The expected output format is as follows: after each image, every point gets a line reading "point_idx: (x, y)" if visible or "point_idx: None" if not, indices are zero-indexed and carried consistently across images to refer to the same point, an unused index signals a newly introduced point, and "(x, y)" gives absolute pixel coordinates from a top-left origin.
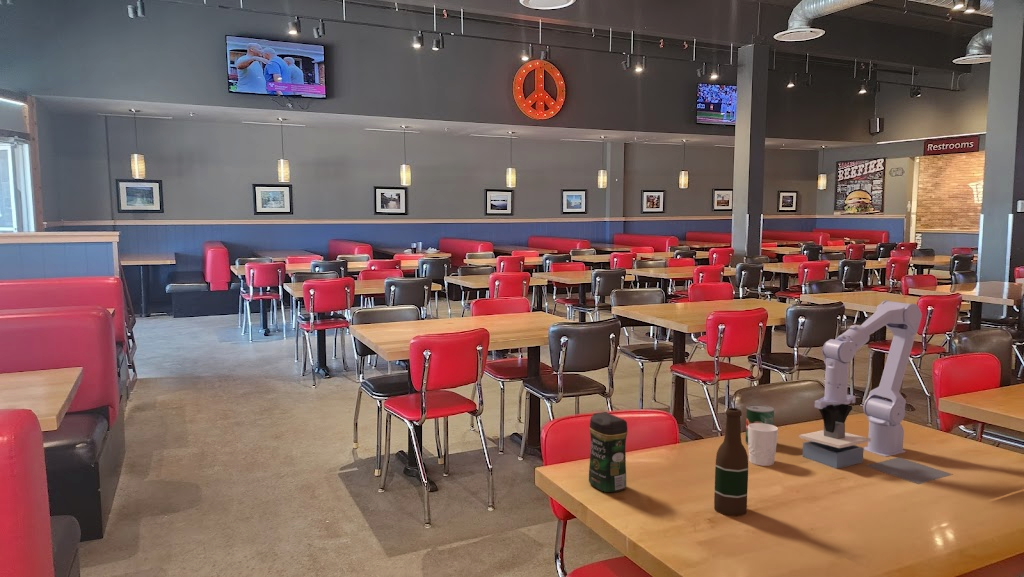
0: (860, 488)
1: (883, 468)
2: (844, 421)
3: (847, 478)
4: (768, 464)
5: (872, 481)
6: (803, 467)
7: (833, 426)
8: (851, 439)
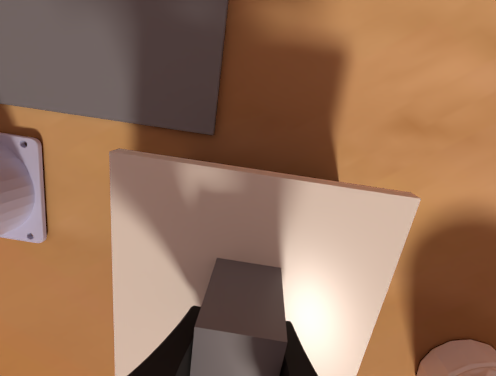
0: (484, 8)
1: (178, 69)
2: (167, 348)
3: (399, 108)
4: (487, 346)
5: (355, 23)
6: (403, 268)
7: (298, 351)
8: (227, 215)
